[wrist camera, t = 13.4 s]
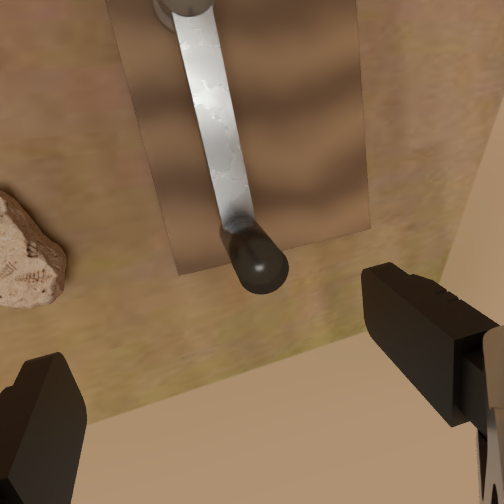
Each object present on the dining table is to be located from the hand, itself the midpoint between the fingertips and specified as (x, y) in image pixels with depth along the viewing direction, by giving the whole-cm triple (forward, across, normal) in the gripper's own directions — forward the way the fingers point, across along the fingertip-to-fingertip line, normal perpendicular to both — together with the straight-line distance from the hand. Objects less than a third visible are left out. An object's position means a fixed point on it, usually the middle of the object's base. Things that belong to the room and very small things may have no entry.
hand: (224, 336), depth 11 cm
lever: (+20, -3, -4) cm, 21 cm away
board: (+25, -7, -4) cm, 26 cm away
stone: (+25, +15, +4) cm, 30 cm away
